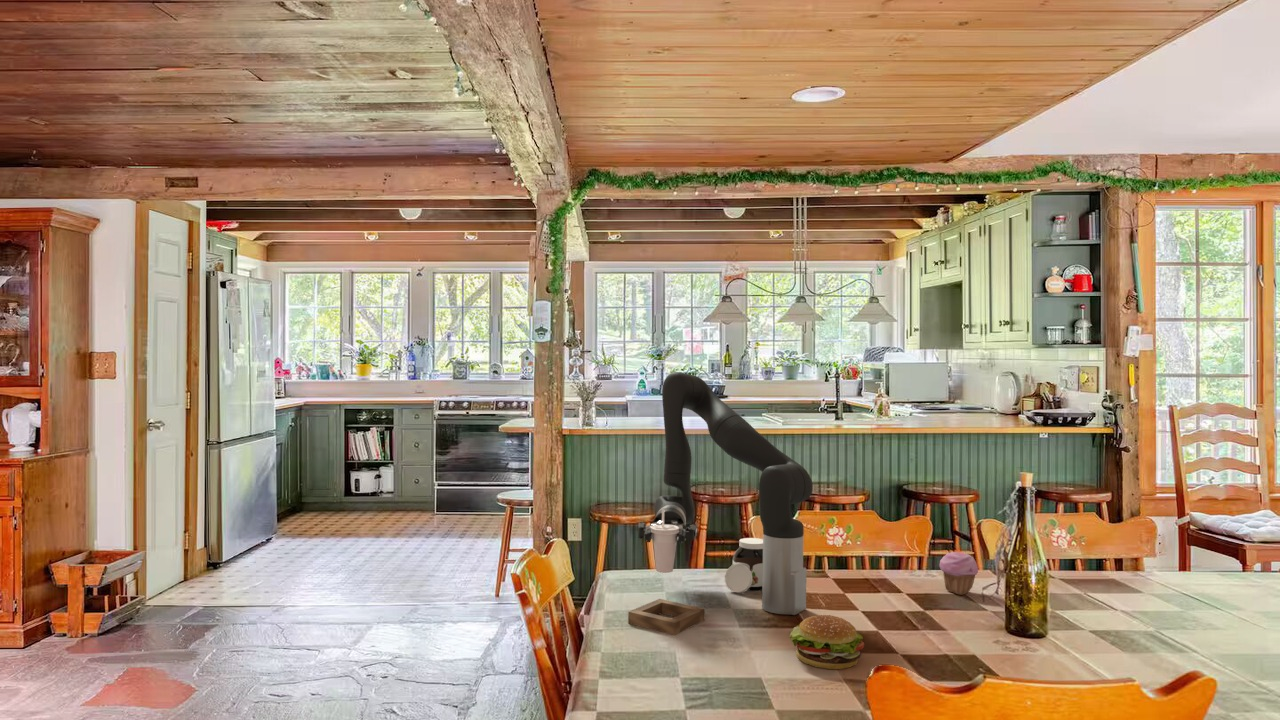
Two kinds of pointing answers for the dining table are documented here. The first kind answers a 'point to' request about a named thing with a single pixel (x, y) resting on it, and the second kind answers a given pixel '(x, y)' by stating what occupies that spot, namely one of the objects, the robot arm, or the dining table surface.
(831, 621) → the food
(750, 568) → the spread jar
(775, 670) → the dining table surface
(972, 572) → the cupcake
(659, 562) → the smoothie
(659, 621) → the walnut socket block
